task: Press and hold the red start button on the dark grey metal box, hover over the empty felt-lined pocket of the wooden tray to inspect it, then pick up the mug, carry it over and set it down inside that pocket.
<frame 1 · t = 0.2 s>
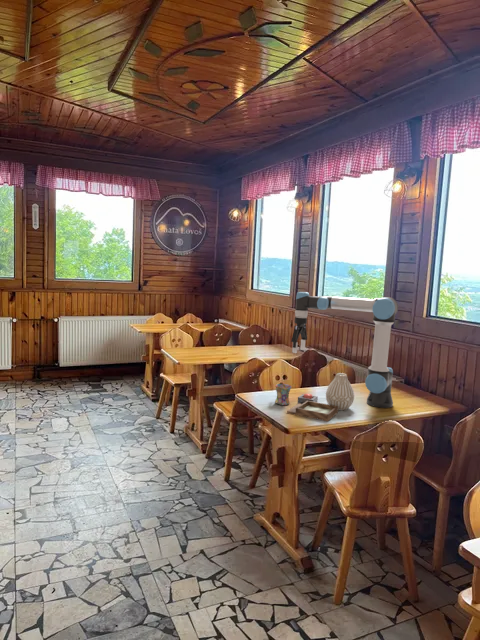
hand: (298, 351, 288), 28 cm above the table, fingers open, 13 cm apart
mug: (280, 403, 272), on the table
button box: (307, 403, 274), on the table
wooden tray: (312, 412, 256), on the table
vase: (338, 408, 268), on the table
start button: (307, 398, 274), point 3 cm above the table, slide at 0.7 cm
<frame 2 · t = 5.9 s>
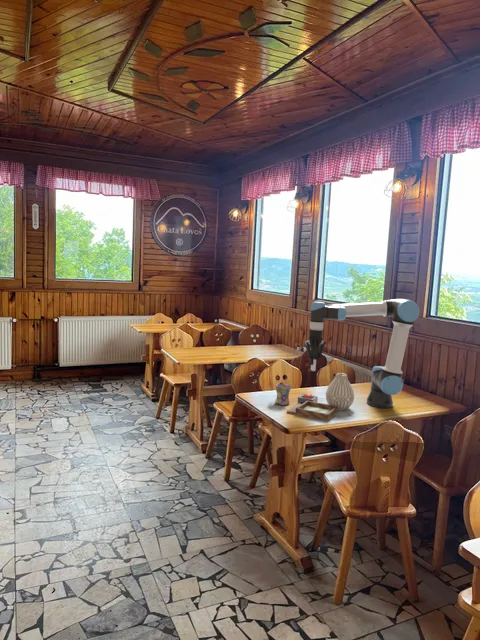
hand: (313, 370, 265), 21 cm above the table, fingers closed
nothing on the table moved.
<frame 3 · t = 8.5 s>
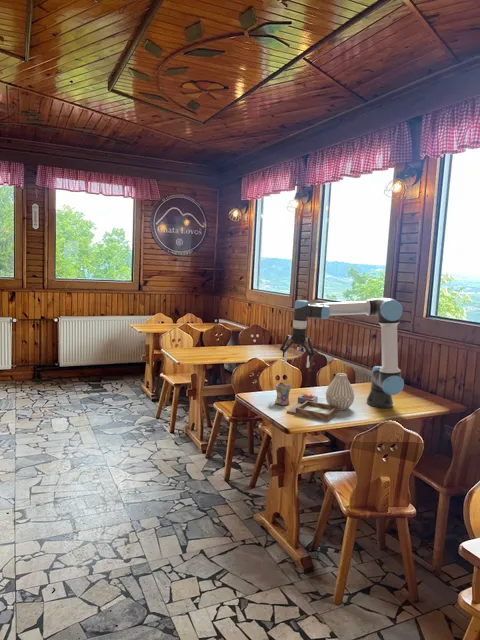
hand: (296, 365, 263), 24 cm above the table, fingers open, 13 cm apart
nothing on the table moved.
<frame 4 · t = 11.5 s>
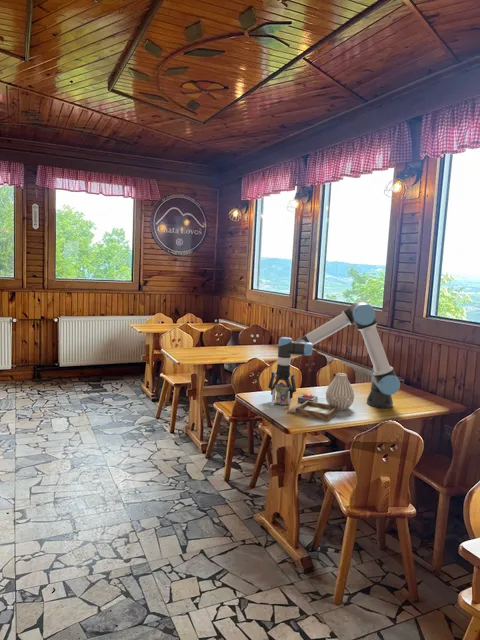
hand: (281, 402, 272), 1 cm above the table, fingers closed on mug, 9 cm apart
mug: (280, 403, 272), on the table, touching gripper
everything else where it was.
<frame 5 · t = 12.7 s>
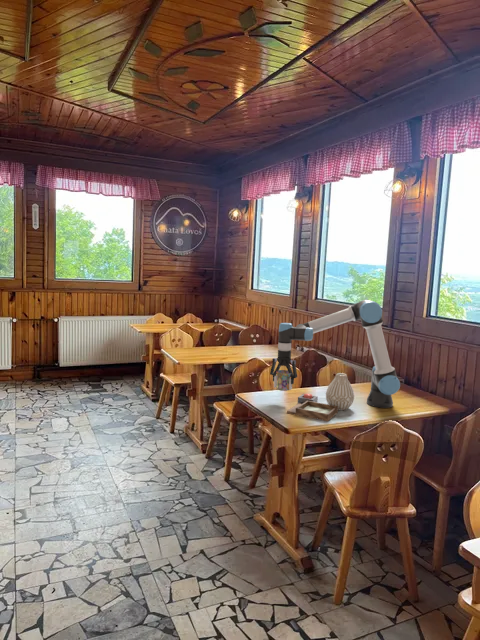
hand: (282, 388, 271), 9 cm above the table, fingers closed on mug, 9 cm apart
mug: (281, 389, 272), point 8 cm above the table, touching gripper
everything else where it was.
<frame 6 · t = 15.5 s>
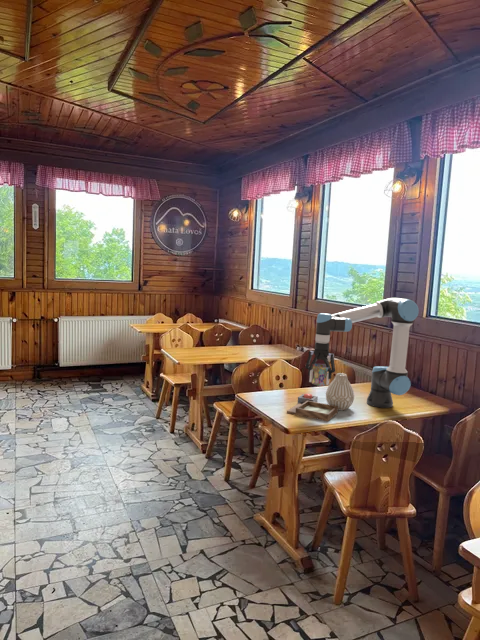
hand: (319, 383, 253), 17 cm above the table, fingers closed on mug, 9 cm apart
mug: (317, 384, 254), point 16 cm above the table, touching gripper
everything else where it was.
when the fingers open (3 cm above the table, at t = 18.3 s): mug stays where it is, resting on wooden tray.
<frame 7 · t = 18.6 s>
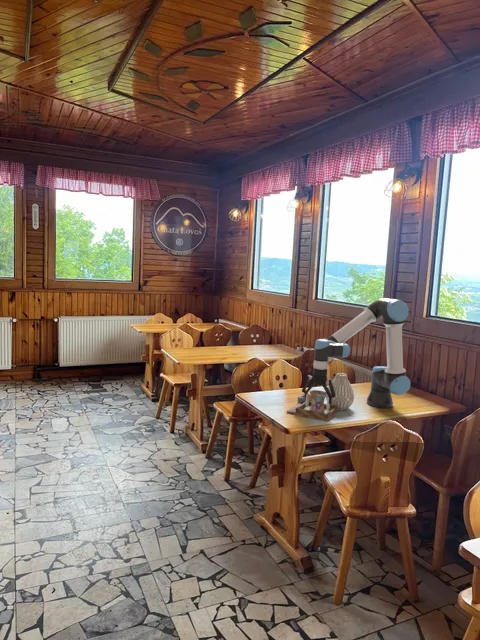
hand: (317, 407, 255), 4 cm above the table, fingers open, 11 cm apart
mug: (315, 411, 256), point 1 cm above the table, touching wooden tray
everything else where it was.
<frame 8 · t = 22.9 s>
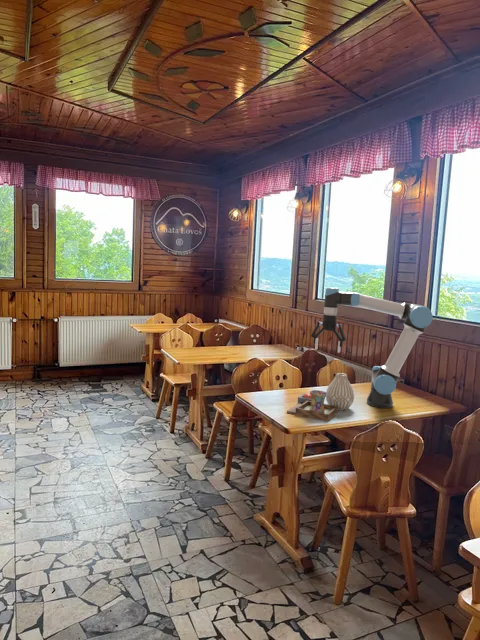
hand: (327, 351, 271), 32 cm above the table, fingers open, 13 cm apart
nothing on the table moved.
at the end: mug inside the target area on the wooden tray (1.2 cm from its centre), point 1.2 cm above the wooden tray's base; mug tilted 0°; the gripper is holding nothing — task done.
